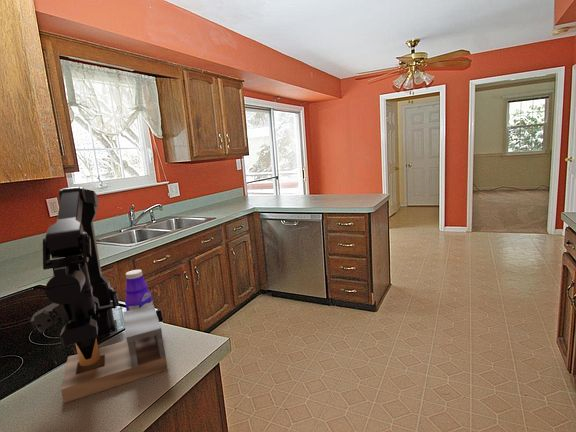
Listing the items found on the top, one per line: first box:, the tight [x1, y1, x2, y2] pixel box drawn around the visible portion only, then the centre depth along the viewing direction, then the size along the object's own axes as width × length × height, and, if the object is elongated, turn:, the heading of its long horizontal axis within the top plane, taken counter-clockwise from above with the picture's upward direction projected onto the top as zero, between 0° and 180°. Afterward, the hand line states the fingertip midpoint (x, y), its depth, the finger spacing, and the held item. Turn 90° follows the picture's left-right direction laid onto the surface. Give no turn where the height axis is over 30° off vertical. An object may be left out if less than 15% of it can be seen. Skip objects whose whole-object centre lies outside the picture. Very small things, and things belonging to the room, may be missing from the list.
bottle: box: [124, 269, 154, 311], centre depth 98 cm, size 7×6×17 cm
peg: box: [74, 338, 100, 366], centre depth 79 cm, size 4×4×8 cm
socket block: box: [60, 304, 169, 404], centre depth 81 cm, size 15×20×10 cm
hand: (88, 354), depth 79 cm, fingers closed on peg, 4 cm apart
